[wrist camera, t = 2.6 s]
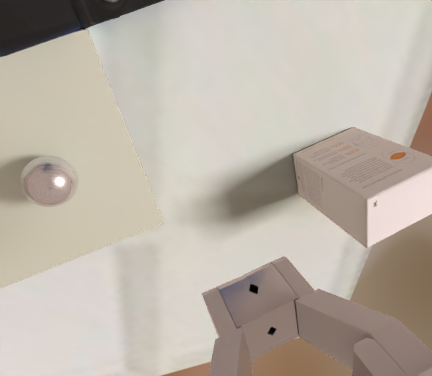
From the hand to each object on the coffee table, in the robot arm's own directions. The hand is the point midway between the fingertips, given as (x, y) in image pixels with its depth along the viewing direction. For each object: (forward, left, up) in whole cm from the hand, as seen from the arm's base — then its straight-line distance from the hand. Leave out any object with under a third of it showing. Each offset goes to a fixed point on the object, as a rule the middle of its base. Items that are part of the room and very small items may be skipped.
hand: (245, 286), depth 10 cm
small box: (+10, +17, -19) cm, 27 cm away
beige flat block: (0, -12, -19) cm, 22 cm away
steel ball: (0, -8, -15) cm, 17 cm away
